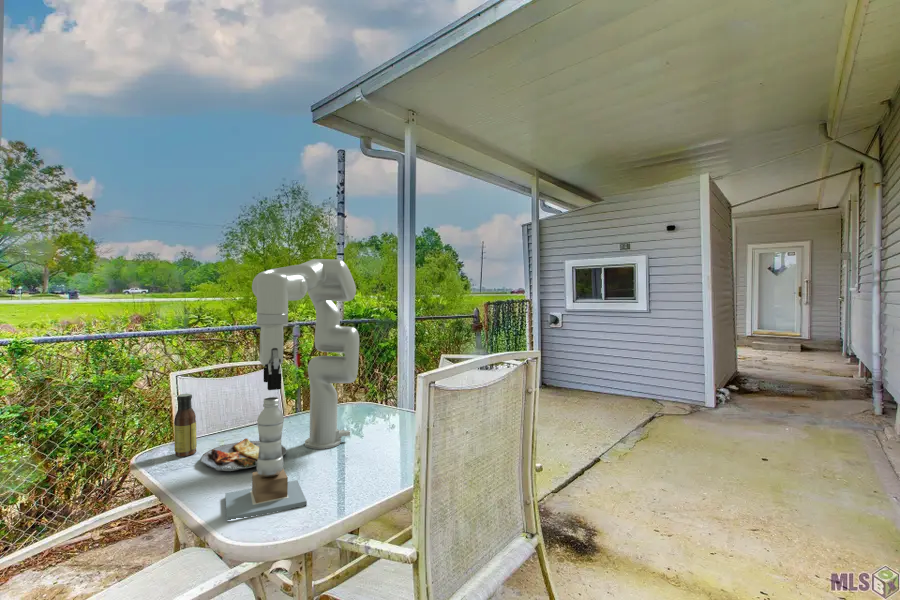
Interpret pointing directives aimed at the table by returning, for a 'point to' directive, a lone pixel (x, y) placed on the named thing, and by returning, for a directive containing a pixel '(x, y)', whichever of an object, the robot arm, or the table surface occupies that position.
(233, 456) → the food plate
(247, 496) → the board
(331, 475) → the table surface
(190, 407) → the sauce bottle
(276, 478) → the block
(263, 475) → the plastic bottle
